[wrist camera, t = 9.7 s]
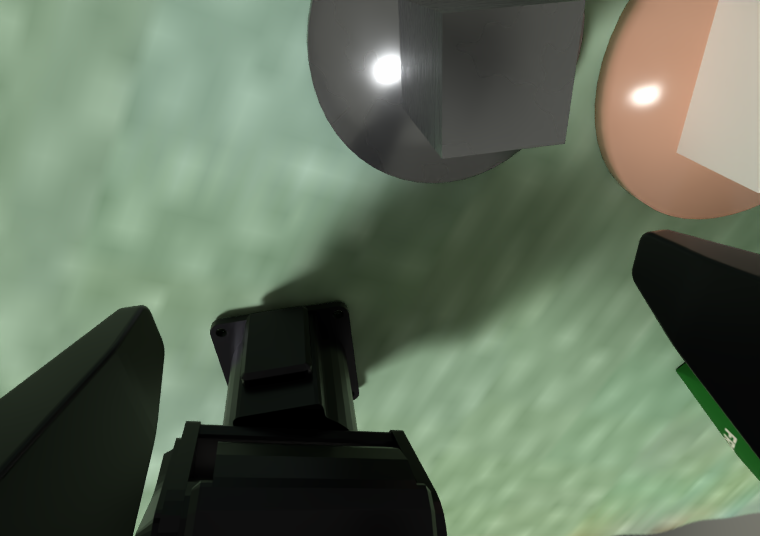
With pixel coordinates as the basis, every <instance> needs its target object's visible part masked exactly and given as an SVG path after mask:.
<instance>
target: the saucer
mask: <svg viewBox="0 0 760 536" xmlns="http://www.w3.org/2000/svg"><path fill="white" fill-rule="evenodd" d="M718 1H719V0H629V1H628V3H627V5H626V7H625V8H624V10H623V12H622V14H621V16H620V18H619V20H618V22H617V24H616V27H615V29H614V31H613V33H612V35H611V38H610V40H609V43H608V46H607V49H606V52H605V55H604V58H603V61H602V65H601V69H600V74H599V78H598V82H597V89H596V98H595V128H596V135H597V141H598V145H599V148H600V151H601V155H602V158H603V160H604V162H605V164H606V166H607V168H608V170H609V172H610V173H611V174H612V176H613V177H614V178H615V180H616V181H617V182H618V183H619V184H620V185H621V186H622V187H623V188H624V189H625V190H626V191H627V192H629V193H630V194H631V195H633V196H634V197H636V198H637V199H639V200H640V201H642V202H643V203H645V204H646V205H648V206H650V207H651V208H653V209H654V210H656V211H659V212H661V213H664V214H666V215H669V216H674V217H679V218H683V219H709V218H718V217H723V216H728V215H732V214H735V213H739V212H742V211H745V210H748V209H751V208H753V207H755V206H758V205H760V193H757V192H755V191H753V190H751V189H749V188H747V187H745V186H743V185H741V184H739V183H737V182H735V181H733V180H731V179H728V178H726V177H724V176H722V175H720V174H718V173H716V172H714V171H712V170H710V169H708V168H706V167H704V166H702V165H700V164H698V163H696V162H694V161H692V160H690V159H688V158H686V157H684V156H682V155H680V154H678V153H676V152H677V148H678V145H679V141H680V138H681V134H682V130H683V127H684V123H685V120H686V116H687V113H688V109H689V105H690V102H691V98H692V95H693V91H694V87H695V84H696V80H697V77H698V73H699V69H700V66H701V62H702V59H703V55H704V51H705V48H706V44H707V41H708V37H709V33H710V30H711V26H712V23H713V19H714V15H715V12H716V8H717V5H718Z"/></svg>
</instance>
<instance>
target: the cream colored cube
mask: <svg viewBox="0 0 760 536" xmlns="http://www.w3.org/2000/svg"><path fill="white" fill-rule="evenodd" d="M676 153H678V154H680V155H682V156H684V157H686V158H688V159H690V160H692V161H694V162H696V163H698V164H700V165H702V166H704V167H706V168H708V169H710V170H712V171H714V172H716V173H718V174H720V175H722V176H724V177H726V178H728V179H731V180H733V181H735V182H737V183H739V184H741V185H743V186H745V187H747V188H749V189H751V190H753V191H755V192H757V193H760V0H719V1H718V5H717V8H716V12H715V15H714V19H713V23H712V26H711V30H710V33H709V37H708V41H707V44H706V48H705V51H704V55H703V59H702V62H701V66H700V69H699V73H698V77H697V80H696V84H695V87H694V91H693V95H692V98H691V102H690V105H689V109H688V113H687V116H686V120H685V123H684V127H683V130H682V134H681V138H680V141H679V145H678V148H677V152H676Z"/></svg>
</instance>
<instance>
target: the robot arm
mask: <svg viewBox="0 0 760 536" xmlns="http://www.w3.org/2000/svg"><path fill="white" fill-rule="evenodd" d="M632 276H633V280H634V282H635V284H636V286H637V287H638V289H639V291H640V292H641V294H642V296H643V297H644V299H645V301H646V302H647V304H648V306H649V307H650V309H651V310H652V312H653V314H654V315H655V317H656V319H657V320H658V322H659V324H660V325H661V327H662V329H663V330H664V332H665V334H666V335H667V337H668V338H669V340H670V341H671V343H672V344H673V346H674V347H675V349H676V350H677V352H678V353H679V354H680V356H681V357H682V358H683V360H684V361H685V362H686V364H687V365H688V366H689V368H690V369H691V370H692V372H693V373H694V374H695V375H696V377H697V378H698V379H699V381H700V382H701V383H702V385H703V386H704V387H705V389H706V390H707V391H708V393H709V394H710V395H711V397H712V398H713V399H714V400H715V402H716V403H717V404H718V406H719V407H720V408H721V410H722V411H723V412H724V414H725V415H726V416H727V418H728V419H729V420H730V422H731V423H732V424H733V426H734V427H735V428H736V429H737V431H738V432H739V433H740V435H741V436H742V437H743V439H744V440H745V441H746V443H747V444H748V445H749V447H750V448H751V449H752V451H753V452H754V453H755V454H756V456H757V457H758V458H759V460H760V254H757V253H753V252H749V251H746V250H742V249H738V248H735V247H731V246H727V245H723V244H720V243H716V242H712V241H708V240H705V239H701V238H697V237H694V236H690V235H686V234H682V233H679V232H675V231H671V230H658V231H651V232H646V233H645V234H643V235H642V237H641V238H640V241H639V245H638V249H637V253H636V256H635V260H634V264H633V268H632ZM337 310H339V311H342V312H341V313H339V314H335V313H334V312H335V311H337ZM220 328H221V329H225V330H226V331H224V332H223V331H219V330H218V329H220ZM210 335H211V338H212V341H213V344H214V347H215V350H216V353H217V356H218V359H219V362H220V365H221V367H222V370H223V373H224V376H225V379H226V382H227V385H228V391H227V399H226V406H225V413H224V421H223V425H204V424H201V422H196V421H186V423H185V427H184V431H183V434H182V438H176V441H175V445H174V448H173V449H172V450H171V451H169V452H167V453H165V454H164V456H163V460H162V464H161V468H160V472H159V476H158V480H157V484H156V488H155V491H154V494H153V496H152V499H151V501H150V503H149V506H148V508H147V510H146V512H145V514H144V517H143V519H142V521H141V523H140V525H139V528H138V530H137V532H136V535H135V536H447V531H446V524H445V518H444V513H443V509H442V506H441V502H440V500H439V497H438V495H437V493H436V491H435V489H434V487H433V485H432V483H431V481H430V480H429V478H428V476H427V474H426V472H425V470H424V468H423V467H422V465H421V463H420V461H419V459H418V457H417V455H416V454H415V452H414V450H413V448H412V446H411V444H410V443H409V441H408V439H407V437H406V435H405V433H404V431H401V430H390V431H389V432H369V431H358V430H357V423H356V417H355V410H354V404H353V400H355V399H356V398H357V397H358V396H359V389H358V381H357V373H356V366H355V358H354V350H353V343H352V335H351V327H350V319H349V312H348V307H347V305H346V304H345V303H343V302H341V301H336V302H329V303H323V304H316V305H309V306H303V307H302V306H299V307H293V308H286V309H279V310H273V311H266V312H260V313H253V314H250V315H243V316H237V317H230V318H223V319H218V320H215V321H214V322H213V323H212V325H211V329H210ZM163 364H164V344H163V341H162V338H161V336H160V333H159V331H158V329H157V326H156V324H155V321H154V319H153V316H152V314H151V312H150V310H149V309H148V308H147V307H146V306H144V305H139V306H132V307H125V308H121V309H119V310H117V311H116V312H114V313H113V314H112V315H110V316H109V317H108V318H106V319H105V320H104V321H103V322H101V323H100V324H99V325H97V326H96V327H95V328H93V329H92V330H91V331H89V332H88V333H87V334H85V335H84V336H83V337H81V338H80V339H79V340H77V341H76V342H75V343H73V344H72V345H71V346H69V347H68V348H67V349H65V350H64V351H63V352H61V353H60V354H59V355H57V356H56V357H55V358H54V359H52V360H51V361H50V362H48V363H47V364H46V365H44V366H43V367H42V368H40V369H39V370H38V371H36V372H35V373H34V374H32V375H31V376H30V377H28V378H27V379H26V380H24V381H23V382H22V383H20V384H19V385H18V386H16V387H15V388H14V389H12V390H11V391H10V392H9V393H7V394H6V395H5V396H3V397H2V398H1V399H0V536H133V532H134V528H135V523H136V519H137V515H138V511H139V506H140V502H141V498H142V493H143V489H144V485H145V480H146V476H147V472H148V467H149V463H150V459H151V454H152V450H153V446H154V441H155V436H156V429H157V422H158V413H159V403H160V393H161V384H162V374H163Z"/></svg>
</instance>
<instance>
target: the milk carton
mask: <svg viewBox="0 0 760 536" xmlns="http://www.w3.org/2000/svg"><path fill="white" fill-rule="evenodd" d="M676 372H677V373H678V374H679V376H680V377H681V379H682V380H683V381H684V383H685V384H686V385H687V387H688V388H689V390H690V391H691V392H692V394H693V395H694V397H695V398H696V399H697V401H698V402H699V404H700V405H701V406H702V408H703V409H704V411H705V412H706V413H707V415H708V416H709V417H710V419H711V420H712V422H713V423H714V424H715V426H716V427H717V429H718V430H719V431H720V433H721V434H722V436H723V437H724V438H725V440H726V441H727V442H728V444H729V445H730V447H731V448H732V449H733V450H734V452H735V453H736V454H737V455H738V457H739V458H740V459H741V460H742V461H743V463H744V464H745V465H746V466H747V467H748V468H749V469H750V470H751V472H752V473H753V474H754V475H755V476H756V477H757V478H758V480H759V481H760V460H759V458H758V457H757V456H756V454H755V453H754V452H753V451H752V449H751V448H750V447H749V445H748V444H747V443H746V441H745V440H744V439H743V437H742V436H741V435H740V433H739V432H738V431H737V429H736V428H735V427H734V426H733V424H732V423H731V422H730V420H729V419H728V418H727V416H726V415H725V414H724V412H723V411H722V410H721V408H720V407H719V406H718V404H717V403H716V402H715V400H714V399H713V398H712V397H711V395H710V394H709V393H708V391H707V390H706V389H705V387H704V386H703V385H702V383H701V382H700V381H699V379H698V378H697V377H696V375H695V374H694V373H693V372H692V370H691V369H690V368H689V366H688V365H687V364H686V363H684V364H683V365H682V366H681V367H679V368H678V369H677V370H676Z"/></svg>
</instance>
